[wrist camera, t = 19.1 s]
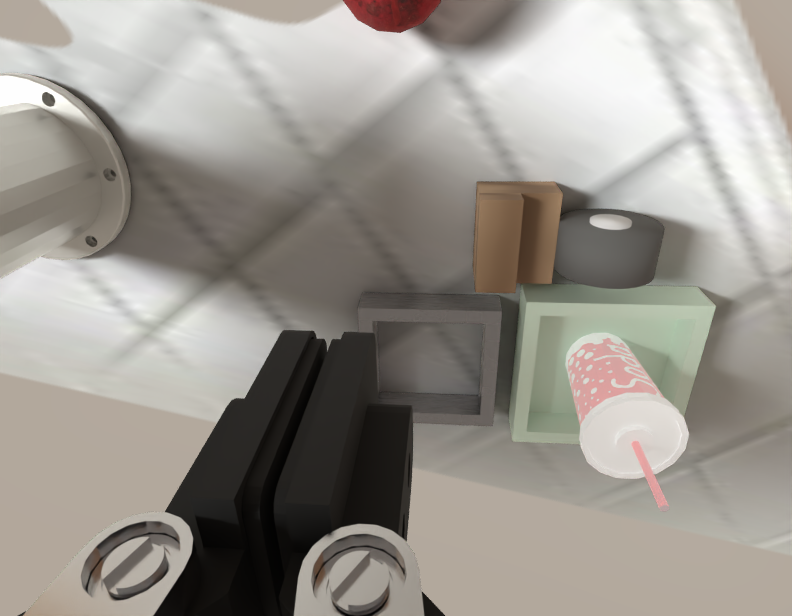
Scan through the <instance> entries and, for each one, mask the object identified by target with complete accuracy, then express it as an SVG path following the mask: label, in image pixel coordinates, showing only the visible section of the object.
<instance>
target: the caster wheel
mask: <svg viewBox="0 0 792 616" xmlns="http://www.w3.org/2000/svg"><path fill="white" fill-rule="evenodd" d="M663 234H664V226H663V225H662V224H661V223H660V222H658V221H657V220H655V219H653V218H650V217H648V216H645V215H641V214H638V213H633V212H628V211H622V210H613V209H582V210H575V211H571V212H568V213H565V214H564V215H562V216H561V217H560V221H559V228H558V236H557V244H556V252H555V260H554V268H555V270H556V271H557V272H558V273H559V274H560V275H562V276H563V277H565V278H567V279H569V280H571V281H574V282H577V283H580V284H583V285H587V286H592V287H598V288H607V289H629V288H635V287H640V286H643V285H646V284H648V283H649V282H651V281H652V280H653V278H654V274H655V270H656V265H657V261H658V256H659V252H660V247H661V243H662V238H663Z"/></svg>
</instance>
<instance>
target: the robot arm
mask: <svg viewBox="0 0 792 616" xmlns="http://www.w3.org/2000/svg"><path fill="white" fill-rule="evenodd" d="M130 204H131V184H130V179H129V174H128V169H127V166H126V163H125V161H124V158H123V155H122V153H121V150H120V148H119V146H118V145H117V143H116V141H115V139H114V138H113V136H112V134H111V133H110V131H109V130H108V129H107V127H106V126H105V125H104V123H103V122H102V121H101V120H100V118H99V117H98V116H97V115H96V114H95V113H94V112H93V111H92V110H91V109H90V108H89V107H88V106H87V105H86V104H85V103H84V102H82V101H81V100H80V99H78V98H77V97H76V96H74V95H73V94H71V93H70V92H69V91H67V90H66V89H64V88H62V87H60V86H58V85H56V84H54V83H52V82H50V81H48V80H46V79H42V78H39V77H35V76H32V75H29V74H20V73H1V74H0V279H1V278H3V277H5V276H7V275H9V274H10V273H12V272H14V271H16V270H18V269H19V268H21V267H23V266H25V265H27V264H28V263H30V262H32V261H34V260H36V259H37V258H39V257H44V258H48V259H57V260H70V259H79V258H82V257H86V256H89V255H92V254H93V253H95V252H97V251H99V250H100V249H102V248H104V247H105V246H106V245H108V244H109V243H110V242H112V241H113V240H114V239H115V238H116V237H117V235H118V234H119V233H120V231H121V230H122V229H123V227H124V224H125V222H126V220H127V218H128V214H129V209H130ZM412 462H413V409H412V405H394V404H379V402H378V380H377V357H376V338H375V334H374V333H369V332H344V333H343V335H342V338H341V339H333V340H332V341H331V344H330V346H329V349H328V352H327V346H326V341H325V339H317V338H316V334H315V332H314V331H295V330H284V331H282V333H281V334H280V336H279V338H278V339H277V341H276V343H275V345H274V347H273V348H272V350H271V352H270V354H269V356H268V357H267V359H266V361H265V363H264V365H263V366H262V368H261V370H260V372H259V374H258V375H257V377H256V379H255V381H254V383H253V384H252V386H251V388H250V390H249V392H248V393H247V395H246V397H245V399H240V398H236V399H234V400H232V401H231V402H230V403H229V405H228V406H227V407H226V409H225V411H224V413H223V414H222V416H221V418H220V419H219V421H218V423H217V424H216V426H215V428H214V429H213V431H212V433H211V435H210V436H209V438H208V440H207V441H206V443H205V445H204V446H203V448H202V450H201V452H200V453H199V455H198V457H197V458H196V460H195V462H194V464H193V465H192V467H191V468H190V470H189V472H188V473H187V475H186V477H185V479H184V480H183V482H182V484H181V485H180V487H179V489H178V490H177V492H176V494H175V495H174V497H173V499H172V501H171V502H170V504H169V506H168V507H167V509H166V511H165V512H147V513H142V514H137V515H133V516H130V517H128V518H125V519H123V520H120V521H118V522H115V523H114V524H112V525H111V526H109V527H107V528H106V529H104V530H103V531H101V532H99V533H98V534H97V535H96V536H95V537H94V538H92V539H91V540H90V541H89V542H88V543H87V544H86V545H85V546H84V547H83V548H82V549H81V550H80V551H79V552H78V553H77V555H76V556H75V557H74V558H73V559H72V560H71V561H70V563H69V564H68V565H67V566H66V567H65V568H64V569H63V571H62V572H61V573H60V574H59V575H58V576H57V577H56V578H55V580H54V581H53V582H52V583H51V584H50V585H49V586H48V588H47V589H46V590H45V591H44V592H43V593H42V594H41V595H40V597H39V598H38V599H37V600H36V601H35V602H34V603H33V605H32V606H31V607H30V608H29V609H28V610H27V611H26V612H24V613H22V614H20V615H18V616H445V615H444V614H443V613H442V612H441V611H440V610H439V609H438V608H437V607H436V606H435V605H434V603H432V601H431V600H430V599H429V598H428V597H427V596H426V595H425V594H424V593H423V592H422V590H421V581H420V572H419V567H418V563H417V560H416V557H415V553H414V552H413V550H412V549H411V548H410V546H409V545H408V544H407V530H408V519H409V506H410V495H411V482H412Z"/></svg>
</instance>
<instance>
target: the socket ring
mask: <svg viewBox="0 0 792 616" xmlns="http://www.w3.org/2000/svg"><path fill="white" fill-rule="evenodd" d="M357 310H358V326H359V332H369V333H374V334H375V338H376V357H377V380H378V402H379V404H394V405H412V409H413V423H430V424H454V425H478V426H493V417H494V405H495V392H496V380H497V368H498V355H499V343H500V331H501V318H502V308H501V303H500V298H499V295H456V294H407V293H362V296H361V299H360V302H359V305H358V308H357ZM377 321H392V322H431V323H471V324H483V336H482V352H481V367H480V383H479V395H454V394H426V393H399V392H380V378H379V355H378V331H377Z"/></svg>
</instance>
